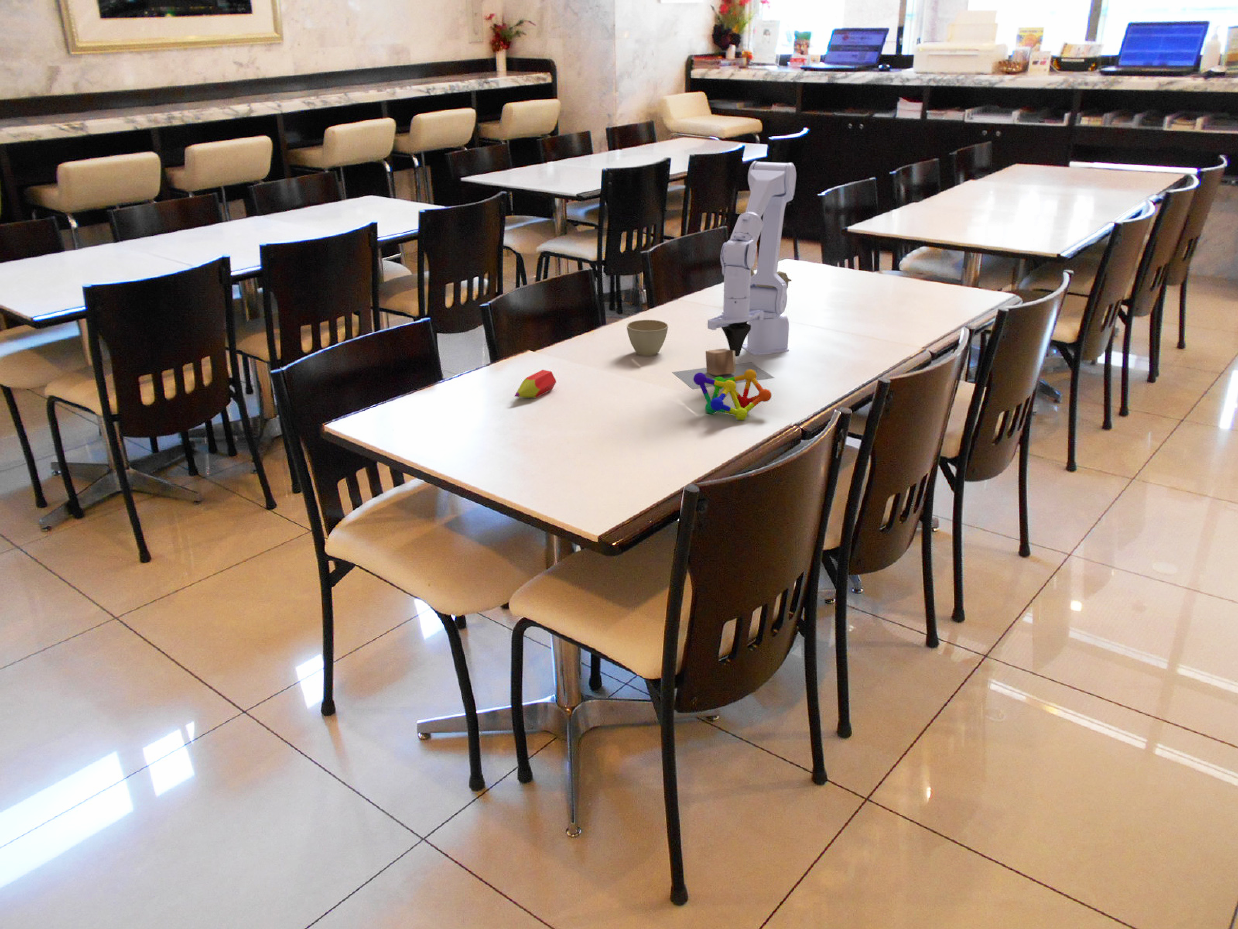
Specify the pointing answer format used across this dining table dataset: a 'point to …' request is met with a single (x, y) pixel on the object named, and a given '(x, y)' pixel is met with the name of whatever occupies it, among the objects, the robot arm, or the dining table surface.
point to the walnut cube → (720, 361)
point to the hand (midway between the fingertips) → (734, 355)
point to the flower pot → (647, 336)
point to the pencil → (536, 384)
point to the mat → (689, 375)
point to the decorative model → (732, 394)
